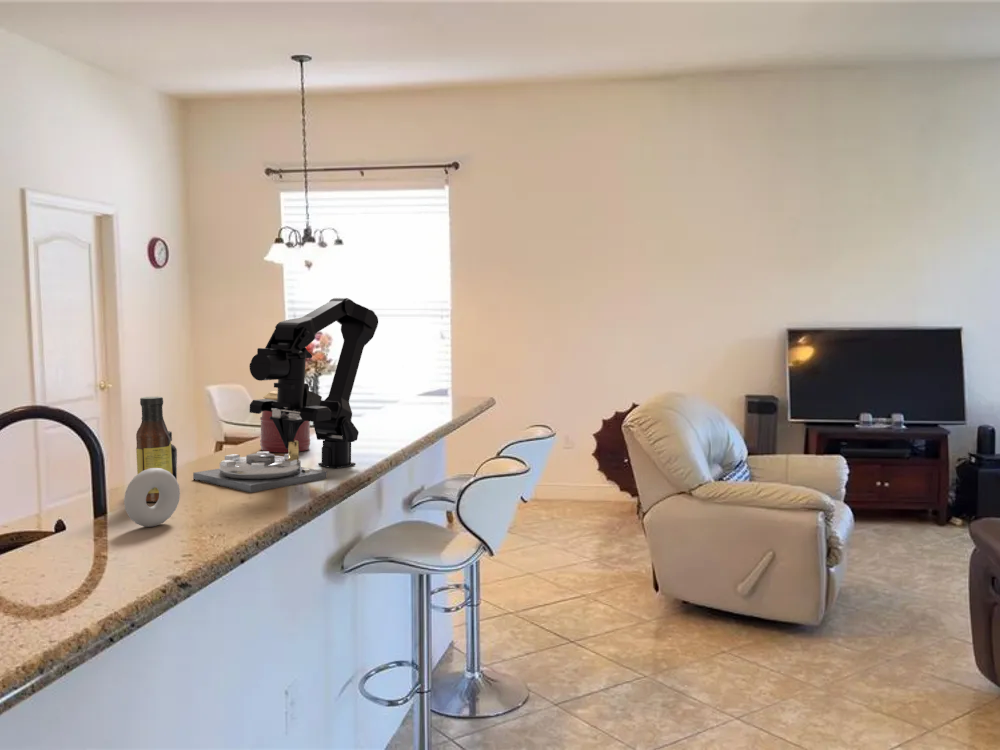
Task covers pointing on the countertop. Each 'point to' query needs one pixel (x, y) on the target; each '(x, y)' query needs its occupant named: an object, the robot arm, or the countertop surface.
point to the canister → (271, 434)
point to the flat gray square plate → (259, 480)
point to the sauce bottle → (153, 441)
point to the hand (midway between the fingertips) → (288, 448)
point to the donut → (139, 491)
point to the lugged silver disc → (262, 464)
